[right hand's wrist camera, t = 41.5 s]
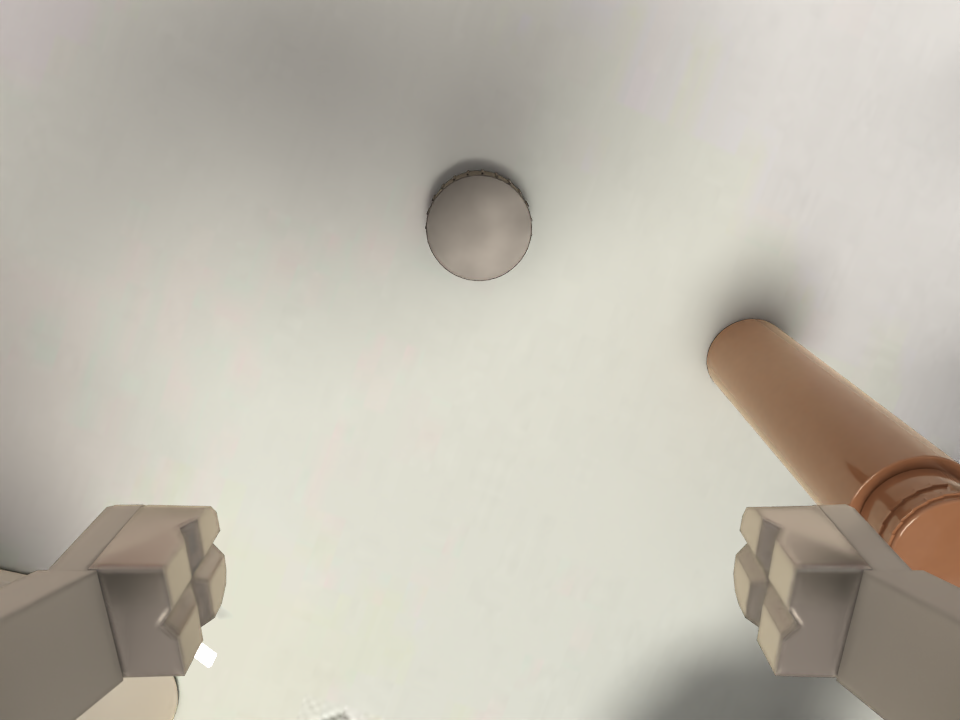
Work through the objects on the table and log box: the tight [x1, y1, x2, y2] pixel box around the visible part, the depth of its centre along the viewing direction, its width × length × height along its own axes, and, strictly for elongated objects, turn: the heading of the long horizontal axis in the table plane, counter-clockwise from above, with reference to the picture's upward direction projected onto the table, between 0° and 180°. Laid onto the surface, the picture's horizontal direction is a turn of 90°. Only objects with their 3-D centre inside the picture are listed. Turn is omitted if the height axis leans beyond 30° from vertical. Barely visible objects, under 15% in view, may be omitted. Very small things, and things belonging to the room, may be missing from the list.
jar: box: [707, 319, 960, 588], centre depth 33 cm, size 5×5×19 cm
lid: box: [425, 169, 532, 281], centre depth 37 cm, size 6×6×2 cm
